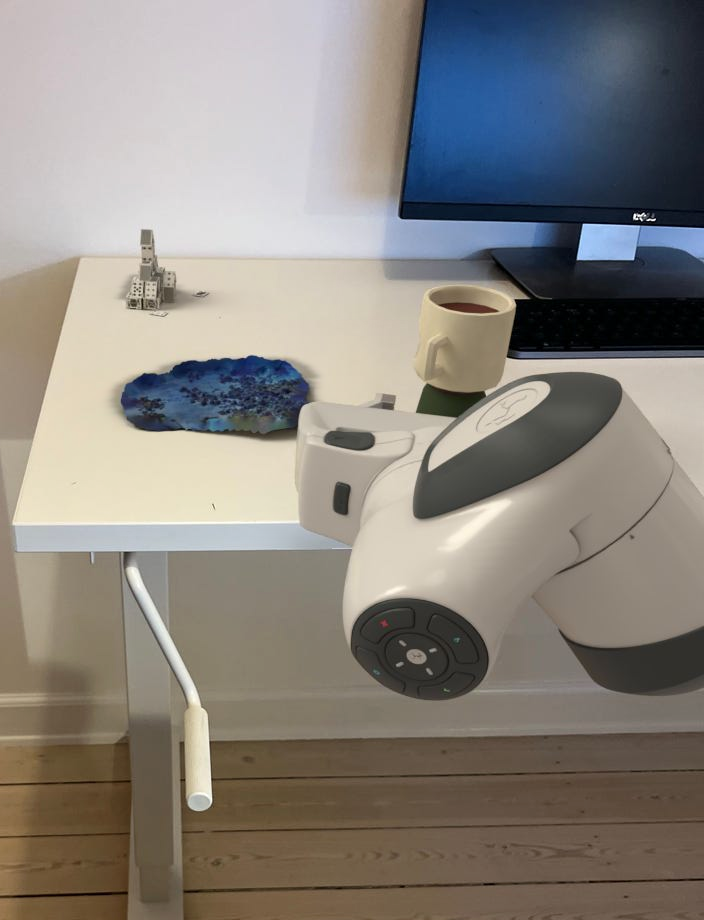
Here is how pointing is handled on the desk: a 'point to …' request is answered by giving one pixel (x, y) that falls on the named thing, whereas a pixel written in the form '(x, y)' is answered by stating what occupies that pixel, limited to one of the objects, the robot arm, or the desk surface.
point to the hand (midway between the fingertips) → (449, 410)
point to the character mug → (461, 346)
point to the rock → (218, 396)
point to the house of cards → (152, 280)
